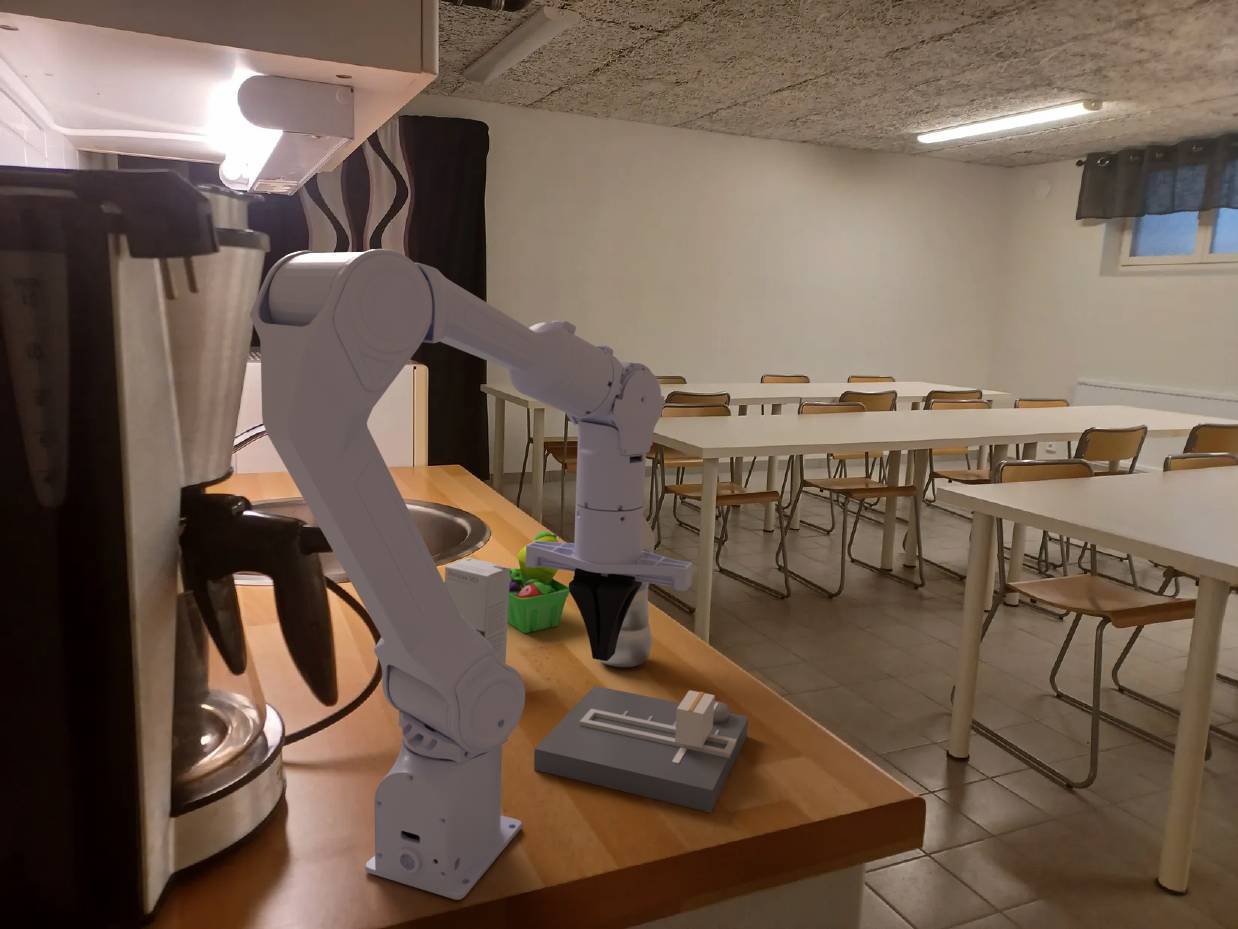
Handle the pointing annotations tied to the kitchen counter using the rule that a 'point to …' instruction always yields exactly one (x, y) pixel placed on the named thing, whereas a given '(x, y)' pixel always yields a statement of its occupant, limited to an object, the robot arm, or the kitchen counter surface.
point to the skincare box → (482, 598)
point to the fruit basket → (535, 594)
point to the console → (642, 748)
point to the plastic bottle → (636, 619)
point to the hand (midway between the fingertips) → (603, 655)
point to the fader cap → (694, 718)
